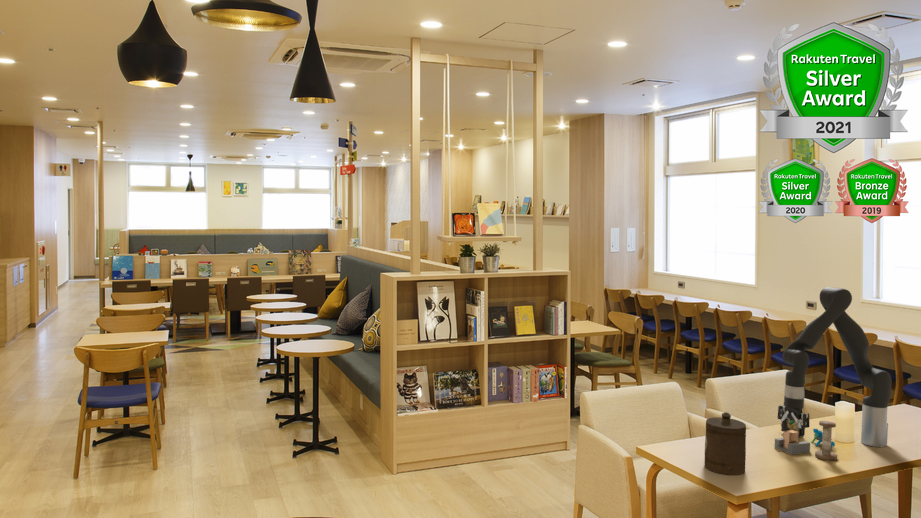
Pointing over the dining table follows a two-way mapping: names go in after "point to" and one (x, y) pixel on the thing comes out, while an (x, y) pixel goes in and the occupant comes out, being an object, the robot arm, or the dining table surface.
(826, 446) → the bobbin
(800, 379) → the robot arm
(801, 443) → the grooved channel block
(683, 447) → the dining table surface
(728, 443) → the wooden container
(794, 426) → the decorative figurine
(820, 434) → the gear
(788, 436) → the copper tab
